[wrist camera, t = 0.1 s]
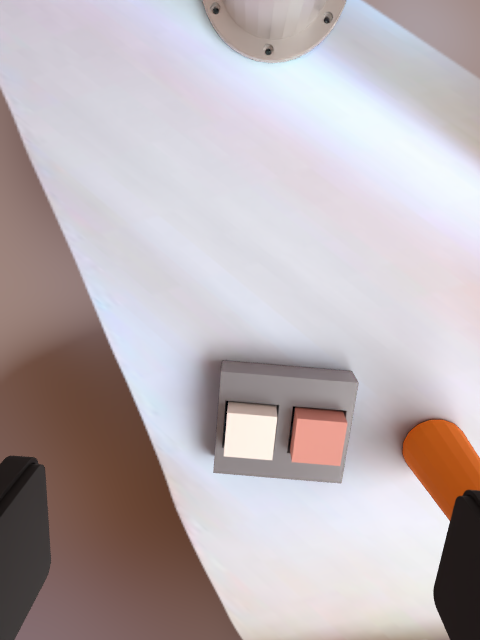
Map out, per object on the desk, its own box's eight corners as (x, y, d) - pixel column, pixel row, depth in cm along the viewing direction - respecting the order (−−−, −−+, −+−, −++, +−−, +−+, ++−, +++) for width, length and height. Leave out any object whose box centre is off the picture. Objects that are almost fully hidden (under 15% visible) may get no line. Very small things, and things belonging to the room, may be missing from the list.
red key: (295, 407, 47) (297, 418, 45) (342, 411, 47) (347, 422, 45) (289, 448, 48) (291, 462, 46) (336, 452, 48) (340, 466, 46)
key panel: (222, 360, 48) (220, 371, 46) (352, 371, 48) (358, 382, 46) (215, 456, 52) (213, 472, 49) (336, 466, 52) (341, 483, 49)
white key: (228, 401, 47) (227, 412, 45) (276, 405, 47) (277, 416, 45) (225, 443, 48) (223, 456, 46) (271, 447, 48) (272, 460, 46)
